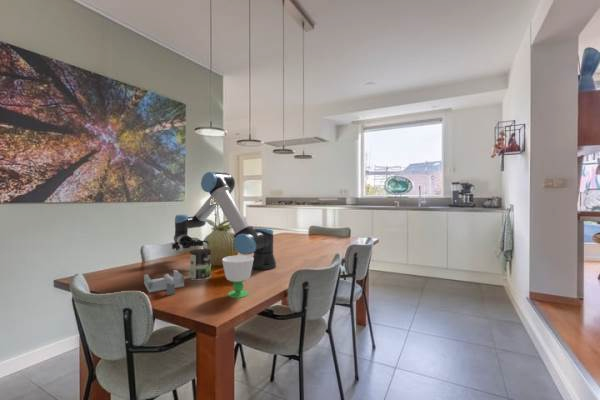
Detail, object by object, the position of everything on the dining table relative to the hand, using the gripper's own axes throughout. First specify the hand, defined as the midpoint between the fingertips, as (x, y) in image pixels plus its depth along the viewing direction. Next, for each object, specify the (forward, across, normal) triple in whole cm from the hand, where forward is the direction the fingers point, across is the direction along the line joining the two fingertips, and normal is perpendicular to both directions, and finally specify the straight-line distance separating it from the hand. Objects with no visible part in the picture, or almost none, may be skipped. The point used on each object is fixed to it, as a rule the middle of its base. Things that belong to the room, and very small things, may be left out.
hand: (194, 247), depth 164 cm
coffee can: (+12, 0, -14) cm, 19 cm away
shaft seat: (+19, +18, -14) cm, 30 cm away
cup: (+47, -6, -14) cm, 49 cm away
